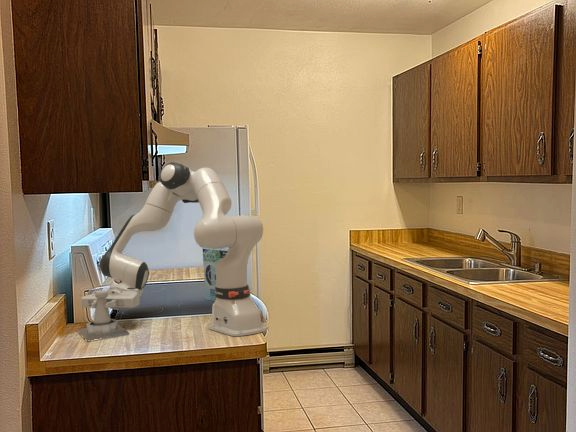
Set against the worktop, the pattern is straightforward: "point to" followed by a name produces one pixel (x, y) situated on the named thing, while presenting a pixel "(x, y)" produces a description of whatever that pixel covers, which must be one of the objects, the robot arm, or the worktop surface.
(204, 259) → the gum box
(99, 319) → the salt shaker
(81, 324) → the worktop surface
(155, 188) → the robot arm
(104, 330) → the duct flange
